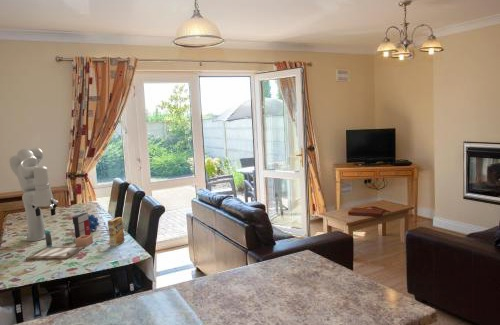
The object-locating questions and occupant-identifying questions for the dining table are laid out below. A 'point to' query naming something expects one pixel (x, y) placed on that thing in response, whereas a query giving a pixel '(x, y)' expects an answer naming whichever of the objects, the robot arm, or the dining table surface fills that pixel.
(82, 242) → the pen cup
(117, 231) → the candy box
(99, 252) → the dining table surface
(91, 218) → the grapes
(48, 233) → the marker
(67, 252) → the clipboard
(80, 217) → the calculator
